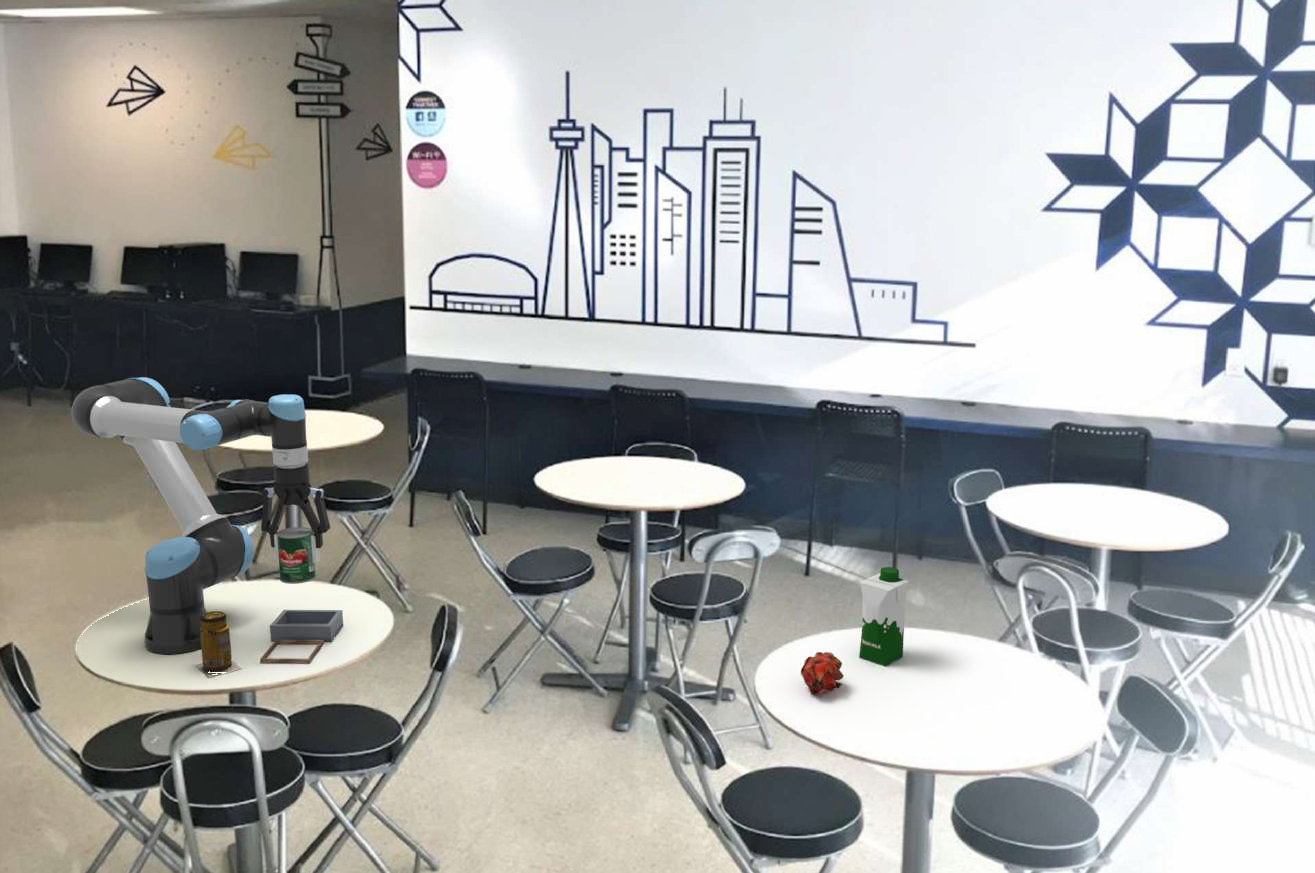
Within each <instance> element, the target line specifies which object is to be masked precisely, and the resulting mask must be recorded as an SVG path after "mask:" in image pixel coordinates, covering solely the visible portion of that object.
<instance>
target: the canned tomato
mask: <svg viewBox="0 0 1315 873" xmlns="http://www.w3.org/2000/svg"><path fill="white" fill-rule="evenodd" d="M278 531H279V532H278ZM278 531H277V532H278V533H277V537H278V553H279V562H278V565H279V568H278V570H279V581H280V582H281V583H284V584H289V585H291V584H292V585H295V584H297V585H298V584H303V583H304V584H305V583H308V582H312V581H314V580H315V579H316V578H317V575H316V563H313V559H312V545H311V535H312V534H314V532H313V530H312V529H311V527H306V526H305V527H304V526H296V527H295V526H294V527H288V528H284V529H281V530H278Z"/></svg>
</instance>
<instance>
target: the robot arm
mask: <svg viewBox="0 0 1315 873" xmlns="http://www.w3.org/2000/svg"><path fill="white" fill-rule="evenodd" d="M170 403H171V401H170V397H169V395H168V393H167V391H166V390H165V388H164V387H163V385H161V384H160V383H159V382H158V381H156V380H154V379H152V378H149V377H146V376H145V377H143V376H141V377H129V378H125V379H123V380H119V381H118V380H117V381H114V382H110V383H104V384H101V385H100V384H99V385H98V384H97V385H94V386H91V387H88V388H85V389H84V390H82V391H81V392H80V393H78V395H76V397H75V398H74V401H73V403H72V405H71V412H70V413H71V419H72V422H73V424H74V425H75V427H76V428H77V429H78V430H79V431H80V432H81V433H83V434H85V435H87V436H90V437H95V438H102V439H103V438H104V439H112V438H114V437H116V436H119V437H120V439H121V441H122V442H123V443H124V444H125V445H129V446H133V447H134V450H135V451H136V452H137V454H138V457H139V458H140V460H141V461H142V463H143V465H144V467H145V468H146V470H147V472H148V474H149V475H150V477H151V478H152V480H153V483H154V484H155V485H156V487H157V490H158V491H159V493H160V494H161V496H162V497H163V500H164V501H165V503H166V504H167V507H168V508H169V510H170V512H171V514H172V515H173V516H174V518H175V520H176V521H177V524H178V526H179V527H180V529H181V531H182V534H181V536H178V537H174V538H172V539H171V538H168V539H164V540H163V541H162V540H161V541H159V542H158V543H156V544H154V545H152V546H151V547H150V548H149V549H148V550H147V551H146V554H145V557H144V560H145V561H144V563H145V567H144V572H145V576H146V584H147V596H148V603H149V618H148V621H147V626H146V629H145V634H144V646H145V649H146V650H148V651H149V652H152V653H154V654H160V655H163V654H164V655H175V654H183V653H189V652H194V651H196V650H199V649H201V637H200V628H201V627H202V626H201V616H202V615H203V614H205V613H208V611H207V609H206V607H205V599H204V597H205V596H204V590H206V589H208V588H210V587H213V586H215V585H217V584H220V583H223V582H225V581H228V580H230V579H234V578H235V577H237V576H239V575H241V574H243V573H244V572H246V571H247V570H248V569H249V568H250V566H251V565H252V563H253V560H254V557H253V556H254V552H255V550H254V549H255V548H254V543H253V539H252V537H251V535H250V534H249V532H248V531H247V529H246V528H244V527H241V526H240V525H235V524H231V522H230V521H229V519H228V517H227V516H226V515H224V514H223V515H222V514H219V513H217V511H216V510H215V508H214V506H213V505H212V503H211V501H210V499H209V498H208V495H207V494H206V492H205V491H204V488H203V487H202V486H201V484H200V482H199V481H198V479H197V477H196V476H195V474H194V472H193V470H192V469H191V467H190V465H189V463H188V462H187V460H186V458H185V456H184V454H183V452H182V451H181V450H180V448H179V446H178V443H180V444H184V445H185V446H186V447H188V448H189V450H192V451H202V450H210V449H212V448H215V447H218V446H221V445H225V444H227V443H231V442H235V441H239V440H241V439H242V440H243V439H245V438H249V437H253V436H259V437H261V436H262V437H268V438H269V437H270V439H271V447H272V449H271V450H272V461H273V464H274V465H275V466H273V473H274V474H273V476H274V486H273V487H269V486H267V487H265V488H264V489H262V490H261V495H262V499H263V503H262V515H261V525H260V530H261V532H265V533H268V534H269V537H270V539H269V540H270V547H271V548H274V552H275V553H274V554H275V556H274V557H275V563H279V553H278V537H277V533H278V532H279V531H280V528H279V527H280V525H281V522H282V519H283V516H284V515H285V511H286V508H287V507H288V506H298V507H299V508H300V509H301V511H302V513H303V514H304V516H305V518H306V521H307V522H308V524H309V526H310V527H309V528H311V529H312V530H313V534H312V535H311V545H312V559H313V563H315V564H317V563H318V562H319V561H320V560H321V553H320V552H321V551H320V549H321V548H322V547H323V546H324V542H323V541H324V539H323V538H324V537H323V534H326V533H327V532H328V531H329V530H330V529H331V524H330V521H329V516H328V511H327V507H326V503H325V499H324V498H325V496H324V495H325V489H324V488H323V487H320V488H314V487H312V485H311V483H310V465H309V464H308V462H309V454H308V452H309V450H308V442H307V440H308V439H307V427H306V426H307V425H306V424H307V423H306V420H307V419H306V417H307V414H306V413H307V412H306V409H305V404H304V403H305V402H304V399H303V398H302V397H301V396H300V395H297V394H278V395H273V396H271V397H270V398H269V400H268V402H264V401H256V400H253V399H251V400H250V399H236V400H233V401H231V402H230V404H229V405H227V406H226V407H223V408H219V409H216V410H212V411H211V410H210V411H209V410H208V411H205V410H198V409H197V410H196V409H190V408H183V407H182V408H180V407H172V406H171V405H169V404H170ZM310 494H311V495H312V498H313V499H314V504H315V505H314V506H315V508H316V509H315V510H316V513H317V514H316V513H315V511H314V509H313V507H312V505H311V501H310V498H309V497H310ZM274 495H276V496H277V498H278V499H279V501H278V503H277V509H276V511H275V513H274V515H273V519H272V511H273V510H272V509H273V498H274ZM271 521H272V523H271Z"/></svg>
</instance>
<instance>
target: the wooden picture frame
mask: <svg viewBox="0 0 1315 873" xmlns="http://www.w3.org/2000/svg"><path fill="white" fill-rule="evenodd" d="M314 644H315V645H316V644H317V646H316V647H315V648H314V650H313V651H312V652H311V653H310V655H309V656H308V658H288V657H286V658H285V657H284V658H283V657H282V658H279V657H275V658H272V657H270V655H271V653H272V652H273V651H274V650H275V649H276V647H277V646H278V645H290V646H291V645H296V646H297V645H298V646H299V645H302V646H306V645H309V646H315V645H314ZM323 644H324V645H325V643H324V640H275V642H272V644H271V645H270V646H269V648H268V649H267V650H266V651H265V652H264V654H263V655H262V656H261V657H260V659H259V662H260V663H259V664H291V665H292V664H293V665H294V664H296V665H297V664H299V665H301V664H302V665H304V664H305V665H307V664H308V665H310V664H311V663H312V662H313V660H314V659H315V657H316V656H317V654H319V652H320V651H321V649H322V648H323V646H324V645H323ZM321 647H322V648H321ZM268 657H269V658H268Z"/></svg>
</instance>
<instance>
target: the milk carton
mask: <svg viewBox="0 0 1315 873" xmlns="http://www.w3.org/2000/svg"><path fill="white" fill-rule="evenodd" d="M908 587H909V580H906V579H903V578H900V569H898V568H897V567H892V566H887V567H882V568H880V572H879V573H877V574H874V575H873V576H870V577H867V578H866V579H864V580H862V581H860V588H861V593H862V614H861V615H862V616H861V636H860V645H859V654H858V655H859V656H858V658H859V659H862V660H866V661H869V662H872V663H875V664H878V665H881V666H884V667H886V666H889V665H890V664H893V663H894V662H896V661H898V660H900V659H901V658H902V657H904V635H905V634H904V633H905V616H906V615H905V613H906V598H907V592H908Z"/></svg>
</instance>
